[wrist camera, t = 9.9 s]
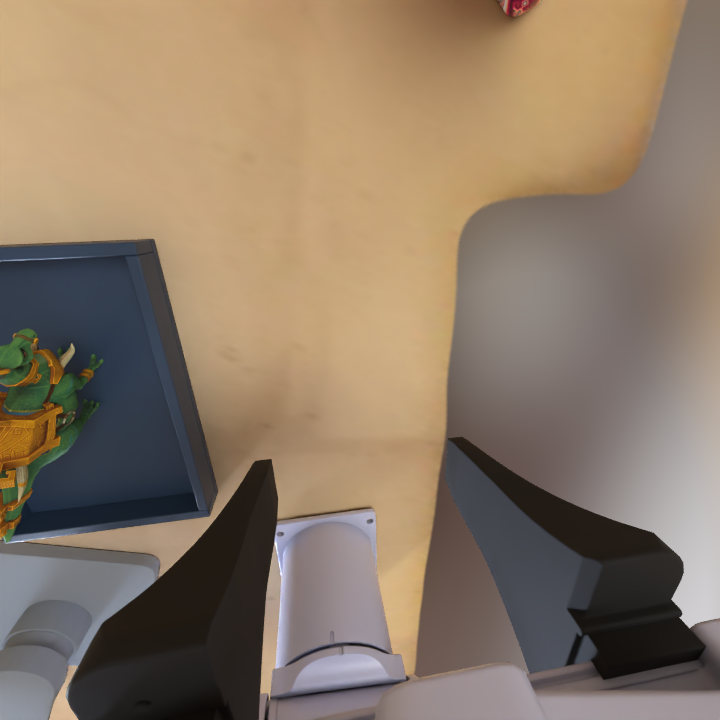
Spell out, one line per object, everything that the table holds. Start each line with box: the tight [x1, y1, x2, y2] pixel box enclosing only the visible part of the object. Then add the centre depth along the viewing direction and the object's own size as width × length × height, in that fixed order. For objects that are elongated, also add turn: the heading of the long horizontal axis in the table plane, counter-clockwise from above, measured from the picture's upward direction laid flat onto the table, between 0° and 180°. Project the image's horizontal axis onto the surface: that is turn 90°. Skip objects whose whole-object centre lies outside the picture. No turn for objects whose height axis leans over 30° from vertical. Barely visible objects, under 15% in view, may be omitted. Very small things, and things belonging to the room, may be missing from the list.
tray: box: [0, 239, 218, 543], centre depth 19 cm, size 17×12×2 cm
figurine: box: [0, 329, 104, 543], centre depth 16 cm, size 3×12×8 cm, turn 157°
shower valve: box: [0, 540, 160, 720], centre depth 25 cm, size 12×6×15 cm
